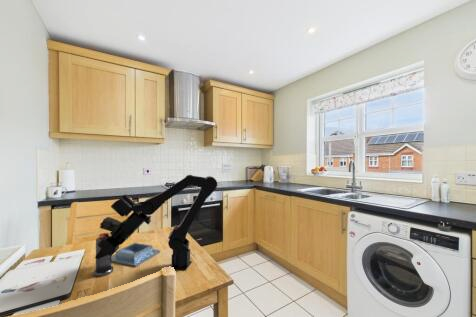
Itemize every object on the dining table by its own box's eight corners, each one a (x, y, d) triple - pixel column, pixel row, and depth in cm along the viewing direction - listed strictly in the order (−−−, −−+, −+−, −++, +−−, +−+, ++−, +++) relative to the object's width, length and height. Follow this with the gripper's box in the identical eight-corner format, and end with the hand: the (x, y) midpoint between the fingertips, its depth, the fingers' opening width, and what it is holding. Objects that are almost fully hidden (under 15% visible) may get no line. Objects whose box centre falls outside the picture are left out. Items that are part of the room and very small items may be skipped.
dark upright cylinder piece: (115, 267, 82) (116, 230, 83) (109, 276, 76) (109, 236, 76) (98, 268, 81) (98, 231, 81) (89, 277, 75) (90, 237, 75)
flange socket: (160, 252, 96) (160, 244, 96) (136, 266, 83) (136, 258, 83) (133, 247, 101) (133, 240, 101) (106, 260, 88) (107, 252, 88)
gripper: (124, 205, 89) (95, 232, 87) (104, 216, 71) (67, 251, 68) (143, 222, 90) (115, 250, 88) (129, 238, 72) (93, 273, 70)
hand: (99, 255), depth 79 cm, fingers open, 5 cm apart
